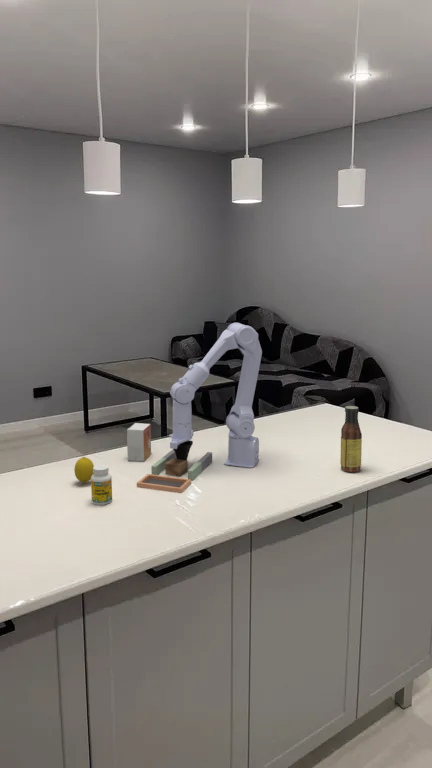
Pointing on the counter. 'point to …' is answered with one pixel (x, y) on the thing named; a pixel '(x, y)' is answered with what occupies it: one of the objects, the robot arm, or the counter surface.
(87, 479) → the lemon
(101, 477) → the supplement bottle
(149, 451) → the small box
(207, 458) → the green and grey bars
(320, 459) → the counter surface
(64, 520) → the counter surface
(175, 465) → the walnut block
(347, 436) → the sauce bottle
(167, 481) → the tray
